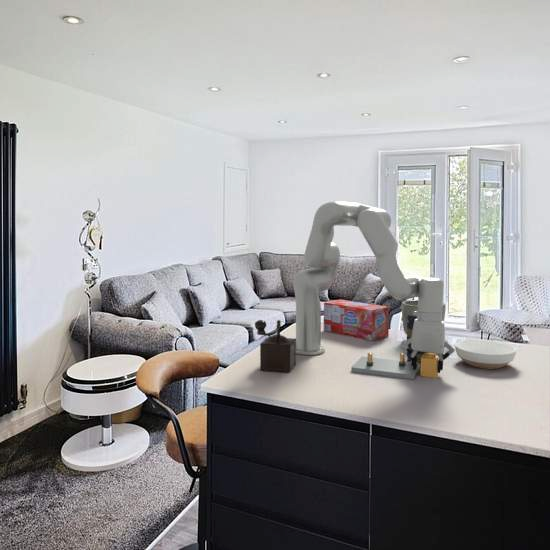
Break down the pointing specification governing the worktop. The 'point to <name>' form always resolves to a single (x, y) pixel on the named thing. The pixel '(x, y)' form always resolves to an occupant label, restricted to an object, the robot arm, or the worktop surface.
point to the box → (356, 319)
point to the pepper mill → (276, 350)
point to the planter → (413, 306)
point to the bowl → (485, 353)
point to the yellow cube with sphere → (429, 365)
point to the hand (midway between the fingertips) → (426, 369)
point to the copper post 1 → (369, 360)
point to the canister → (409, 334)
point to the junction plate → (385, 368)
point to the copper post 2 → (402, 359)
